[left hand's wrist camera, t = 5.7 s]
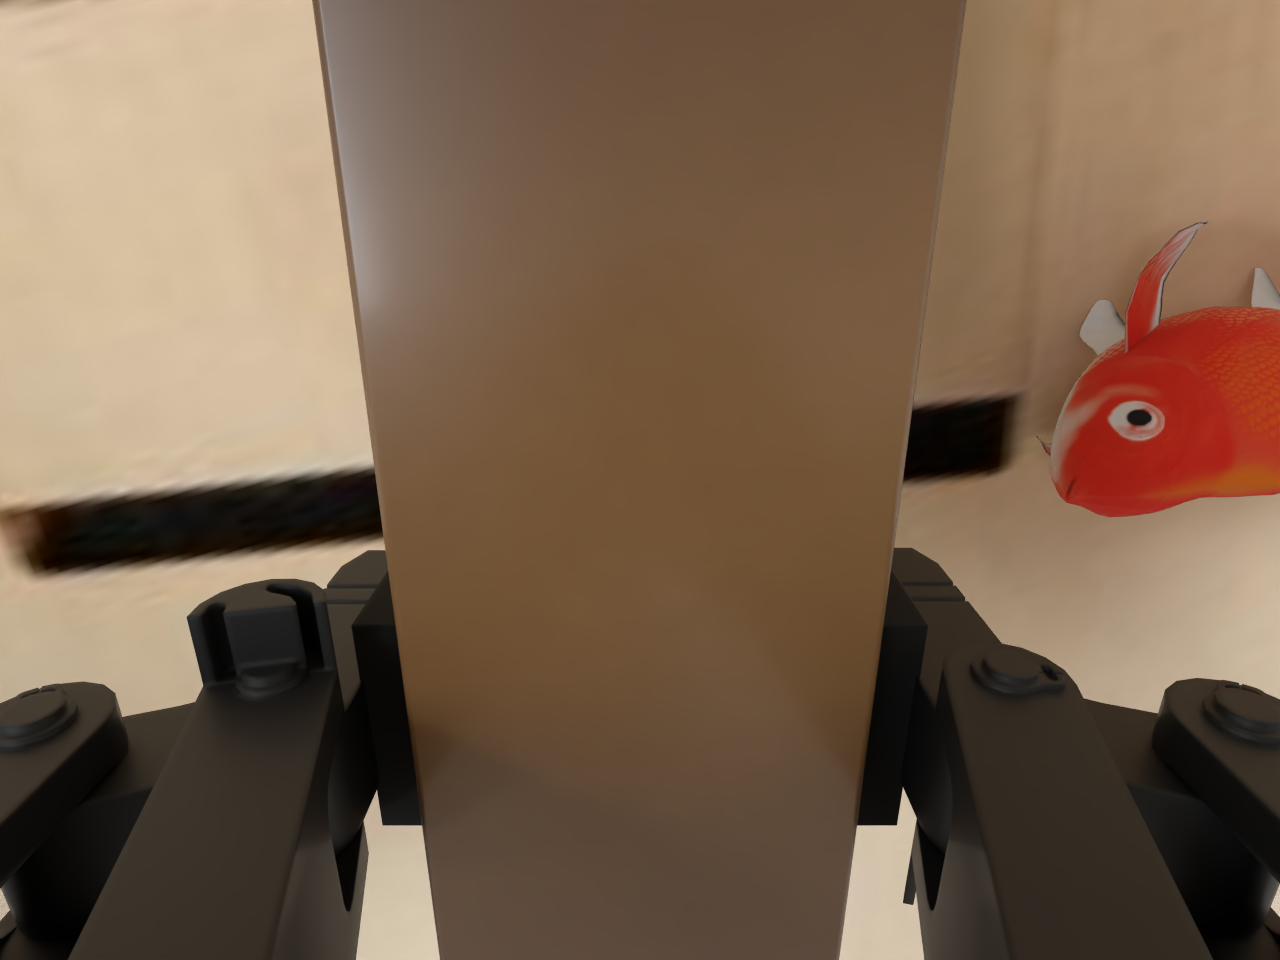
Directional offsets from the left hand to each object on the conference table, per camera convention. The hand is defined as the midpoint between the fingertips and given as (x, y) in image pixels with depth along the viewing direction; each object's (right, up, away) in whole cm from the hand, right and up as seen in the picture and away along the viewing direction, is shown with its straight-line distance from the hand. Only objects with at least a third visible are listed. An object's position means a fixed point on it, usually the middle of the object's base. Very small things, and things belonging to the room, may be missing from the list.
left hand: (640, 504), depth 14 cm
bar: (0, +7, -2) cm, 8 cm away
